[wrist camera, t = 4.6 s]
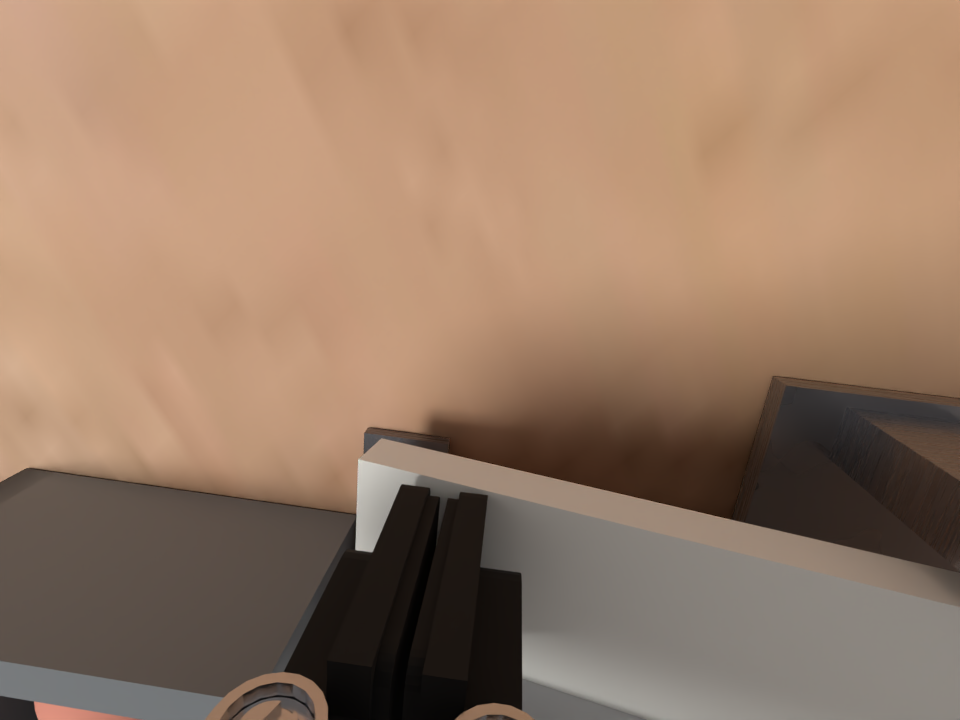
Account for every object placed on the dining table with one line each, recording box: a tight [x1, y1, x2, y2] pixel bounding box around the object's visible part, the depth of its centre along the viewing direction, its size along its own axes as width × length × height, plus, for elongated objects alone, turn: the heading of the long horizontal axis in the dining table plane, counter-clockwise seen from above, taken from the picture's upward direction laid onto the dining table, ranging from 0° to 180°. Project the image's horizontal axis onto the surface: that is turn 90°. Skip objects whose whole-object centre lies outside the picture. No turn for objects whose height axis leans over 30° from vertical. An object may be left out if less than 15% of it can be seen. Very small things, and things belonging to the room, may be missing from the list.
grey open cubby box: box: [0, 468, 357, 720], centre depth 12 cm, size 9×8×5 cm
